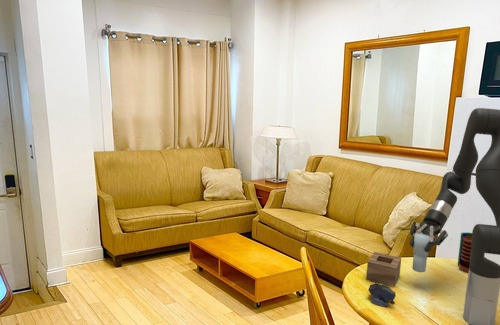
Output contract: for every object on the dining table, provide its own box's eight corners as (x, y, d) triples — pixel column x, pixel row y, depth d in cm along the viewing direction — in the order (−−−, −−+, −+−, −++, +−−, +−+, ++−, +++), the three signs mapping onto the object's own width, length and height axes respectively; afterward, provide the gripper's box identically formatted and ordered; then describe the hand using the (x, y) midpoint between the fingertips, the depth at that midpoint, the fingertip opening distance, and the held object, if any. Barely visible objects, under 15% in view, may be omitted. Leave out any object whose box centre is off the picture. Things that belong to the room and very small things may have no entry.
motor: (452, 267, 172) (457, 224, 168) (465, 264, 175) (471, 222, 172) (473, 276, 163) (479, 231, 159) (487, 273, 166) (493, 229, 163)
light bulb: (425, 273, 148) (429, 239, 145) (410, 270, 150) (414, 236, 148) (427, 268, 152) (430, 235, 150) (412, 265, 155) (415, 232, 153)
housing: (394, 287, 151) (396, 268, 149) (366, 280, 156) (367, 261, 155) (399, 275, 161) (401, 257, 160) (372, 269, 166) (374, 251, 165)
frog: (376, 291, 147) (378, 274, 146) (402, 304, 138) (403, 286, 137) (361, 297, 142) (362, 279, 141) (386, 311, 133) (387, 292, 132)
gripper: (418, 204, 157) (398, 237, 152) (453, 213, 146) (433, 249, 141) (424, 214, 161) (405, 247, 156) (458, 224, 150) (439, 260, 145)
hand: (418, 248), depth 149 cm, fingers closed on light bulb, 5 cm apart
